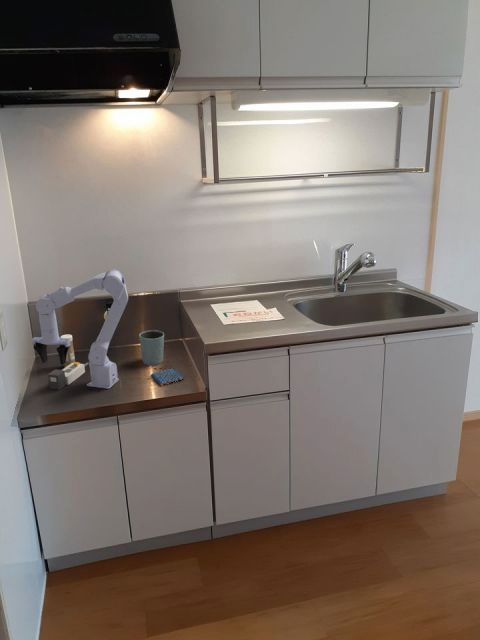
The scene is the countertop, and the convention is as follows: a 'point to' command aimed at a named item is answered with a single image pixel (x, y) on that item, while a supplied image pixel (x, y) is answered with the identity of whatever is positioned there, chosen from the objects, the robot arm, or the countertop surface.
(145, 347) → the teal cup
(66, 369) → the power strip
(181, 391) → the countertop surface
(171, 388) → the countertop surface
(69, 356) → the sprinkles bottle
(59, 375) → the charger
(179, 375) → the woven mat
